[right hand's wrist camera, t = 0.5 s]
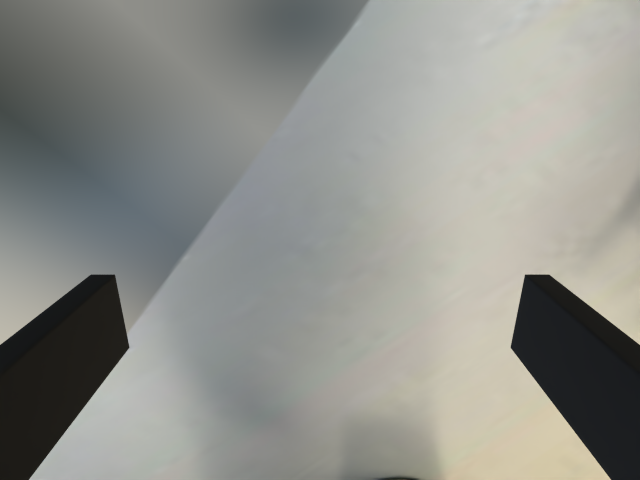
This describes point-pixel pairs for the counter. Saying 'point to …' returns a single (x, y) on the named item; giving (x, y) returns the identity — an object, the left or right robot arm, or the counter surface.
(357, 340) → the counter surface
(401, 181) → the counter surface
